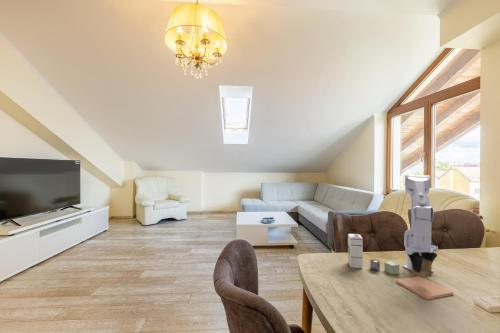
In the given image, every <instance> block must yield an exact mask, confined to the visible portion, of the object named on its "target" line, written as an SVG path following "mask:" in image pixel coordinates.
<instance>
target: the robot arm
mask: <svg viewBox="0 0 500 333" xmlns="http://www.w3.org/2000/svg"><path fill="white" fill-rule="evenodd" d="M431 185H432V178H431V176H430V175H429V174H428V175H427V174H424V175H420V174H419V175H418V174H416V175H415V174H406V175H405V176H404V190H405V193H407V194H409V195H410V196H409V197H410V200H411V201H410V203H411V204H410V210H411V211H410V213H411V214H410V217H411V220H410V221H411V226H410V228H408V229H407V230H405V231H404V235H403V236H404V237H403V239H404V240H403V244H404V248H405V252H404V253H405V254H407V256H406V258H407V260H406V264H405V265H402V268H405V269H407V270H409V271H411V272H412V266H413V269H414V271H416V272H420V270H421V263H422V260H423V258H424V259H427V260H429V261H431V273H433V272H434V270H433V269H432V268H433V267H432V266H433V262H434V261H435V260H436V258H437V257H438V254H437V252H439V247H438V245H433V244H432V222H433V221H434V217H435V215H434V213H435V212H434V207H433V205H431V203H430V202H431V201H430V197H429V196H428V194H429V192H430V189H431Z"/></svg>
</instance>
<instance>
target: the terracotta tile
mask: <svg viewBox="0 0 500 333" xmlns="http://www.w3.org/2000/svg"><path fill="white" fill-rule="evenodd" d="M395 283H396V284H398V285H399V286H402V287H404V288H405V289H407V290H409V291H411V292H413V293H414V294H415V295H418V296H420V297H422V298H424V299H426V300H427V301H429V300H433V299H439V298H442V297H449V296H454V291H452V290H450V289H449V288H446V287H444V286H441V285H439V284H438V283H435V282H434V281H431V280H429V279H427V278H421V277H419V276H417V275H416V276H413V277H405V278H400V279H395Z"/></svg>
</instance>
